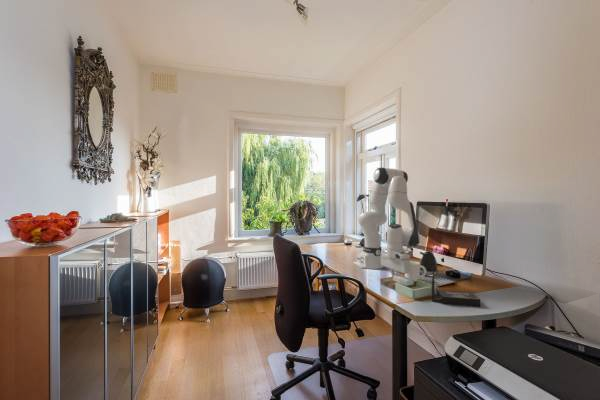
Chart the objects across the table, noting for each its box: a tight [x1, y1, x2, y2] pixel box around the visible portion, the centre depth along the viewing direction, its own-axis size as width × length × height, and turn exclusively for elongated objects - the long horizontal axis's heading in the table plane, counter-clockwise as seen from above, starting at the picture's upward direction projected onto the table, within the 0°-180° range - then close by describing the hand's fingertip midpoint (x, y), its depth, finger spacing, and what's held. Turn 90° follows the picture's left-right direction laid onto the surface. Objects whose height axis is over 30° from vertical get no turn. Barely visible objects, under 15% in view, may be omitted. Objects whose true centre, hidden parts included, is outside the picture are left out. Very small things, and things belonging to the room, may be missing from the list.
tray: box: [394, 279, 438, 301], centre depth 149 cm, size 12×16×5 cm
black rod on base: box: [431, 267, 481, 308], centre depth 138 cm, size 20×14×17 cm
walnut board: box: [379, 276, 417, 291], centre depth 161 cm, size 13×14×3 cm
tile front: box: [400, 277, 414, 286], centre depth 155 cm, size 5×5×2 cm
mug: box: [404, 260, 426, 282], centre depth 171 cm, size 12×8×10 cm
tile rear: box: [393, 274, 406, 283], centre depth 160 cm, size 5×5×2 cm
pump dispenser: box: [419, 250, 438, 276], centre depth 181 cm, size 10×10×15 cm
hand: (394, 277), depth 163 cm, fingers closed
